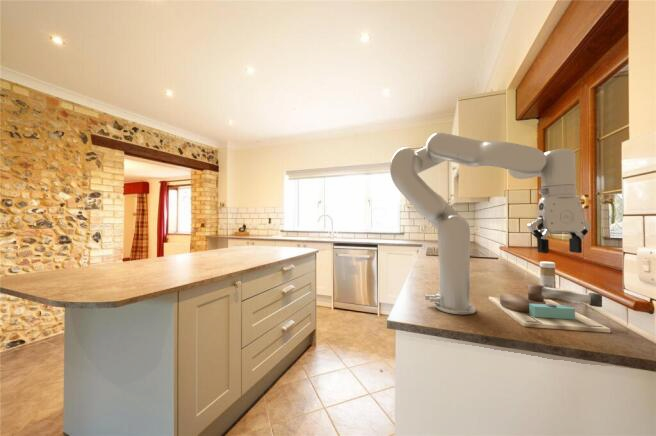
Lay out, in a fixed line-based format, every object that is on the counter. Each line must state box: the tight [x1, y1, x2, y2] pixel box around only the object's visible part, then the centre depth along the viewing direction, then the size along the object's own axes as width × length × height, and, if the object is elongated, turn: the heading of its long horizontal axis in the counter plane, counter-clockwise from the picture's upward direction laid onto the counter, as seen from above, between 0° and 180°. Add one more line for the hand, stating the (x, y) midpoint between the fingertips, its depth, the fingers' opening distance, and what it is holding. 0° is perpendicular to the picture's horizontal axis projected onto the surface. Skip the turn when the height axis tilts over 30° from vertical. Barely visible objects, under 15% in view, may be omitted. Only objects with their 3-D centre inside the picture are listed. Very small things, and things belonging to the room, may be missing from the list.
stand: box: [488, 296, 612, 333], centre depth 82 cm, size 20×25×1 cm
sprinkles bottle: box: [539, 261, 557, 300], centre depth 98 cm, size 5×5×13 cm
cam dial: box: [499, 283, 603, 312], centre depth 81 cm, size 22×16×7 cm
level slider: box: [529, 303, 576, 319], centre depth 76 cm, size 10×3×3 cm, turn 78°
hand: (559, 252), depth 75 cm, fingers open, 8 cm apart
